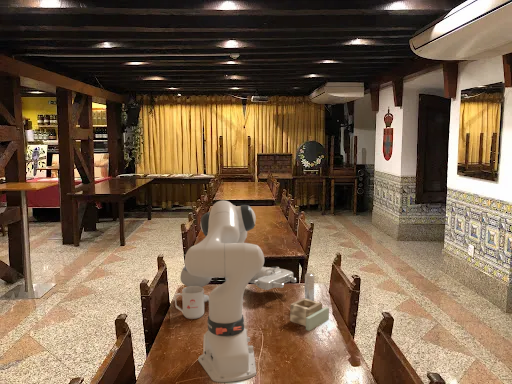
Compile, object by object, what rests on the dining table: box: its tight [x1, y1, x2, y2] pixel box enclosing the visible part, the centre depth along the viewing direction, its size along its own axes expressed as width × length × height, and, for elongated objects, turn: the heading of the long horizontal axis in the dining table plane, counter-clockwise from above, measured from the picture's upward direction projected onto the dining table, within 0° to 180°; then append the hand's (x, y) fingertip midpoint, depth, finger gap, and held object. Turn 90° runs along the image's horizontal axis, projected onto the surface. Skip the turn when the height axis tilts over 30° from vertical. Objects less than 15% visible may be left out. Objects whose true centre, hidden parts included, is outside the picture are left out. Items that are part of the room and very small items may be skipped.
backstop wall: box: [305, 306, 330, 332], centre depth 172 cm, size 2×14×5 cm, turn 139°
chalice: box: [179, 266, 213, 304], centre depth 198 cm, size 14×14×15 cm
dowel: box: [304, 272, 315, 301], centre depth 190 cm, size 4×4×14 cm
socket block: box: [289, 297, 323, 327], centre depth 175 cm, size 9×9×7 cm
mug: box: [174, 286, 205, 320], centre depth 181 cm, size 12×9×11 cm
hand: (289, 283), depth 197 cm, fingers open, 8 cm apart
